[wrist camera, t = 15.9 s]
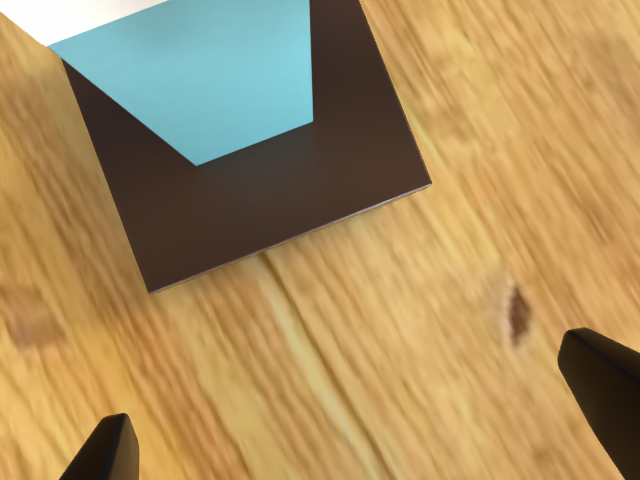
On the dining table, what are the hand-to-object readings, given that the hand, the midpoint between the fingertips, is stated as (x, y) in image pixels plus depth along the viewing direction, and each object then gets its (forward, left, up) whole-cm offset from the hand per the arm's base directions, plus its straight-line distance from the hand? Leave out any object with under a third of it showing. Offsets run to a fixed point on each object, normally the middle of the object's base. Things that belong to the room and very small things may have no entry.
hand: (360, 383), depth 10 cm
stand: (+4, +9, -13) cm, 16 cm away
